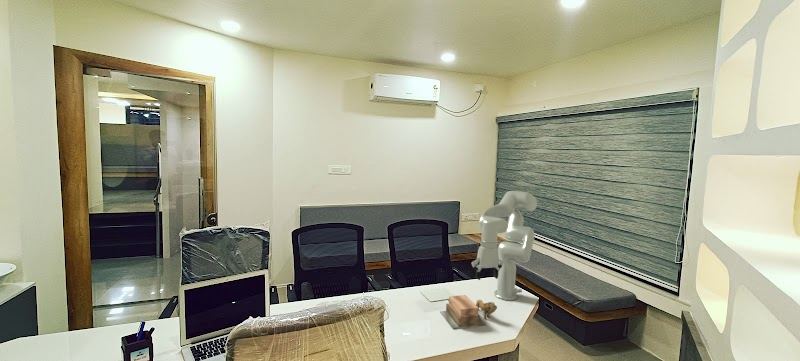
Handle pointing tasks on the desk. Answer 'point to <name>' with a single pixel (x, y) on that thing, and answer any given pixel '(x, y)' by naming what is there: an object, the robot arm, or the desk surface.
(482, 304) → the lion figurine
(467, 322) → the block tower
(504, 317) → the desk surface
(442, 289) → the paper stack
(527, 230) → the robot arm
